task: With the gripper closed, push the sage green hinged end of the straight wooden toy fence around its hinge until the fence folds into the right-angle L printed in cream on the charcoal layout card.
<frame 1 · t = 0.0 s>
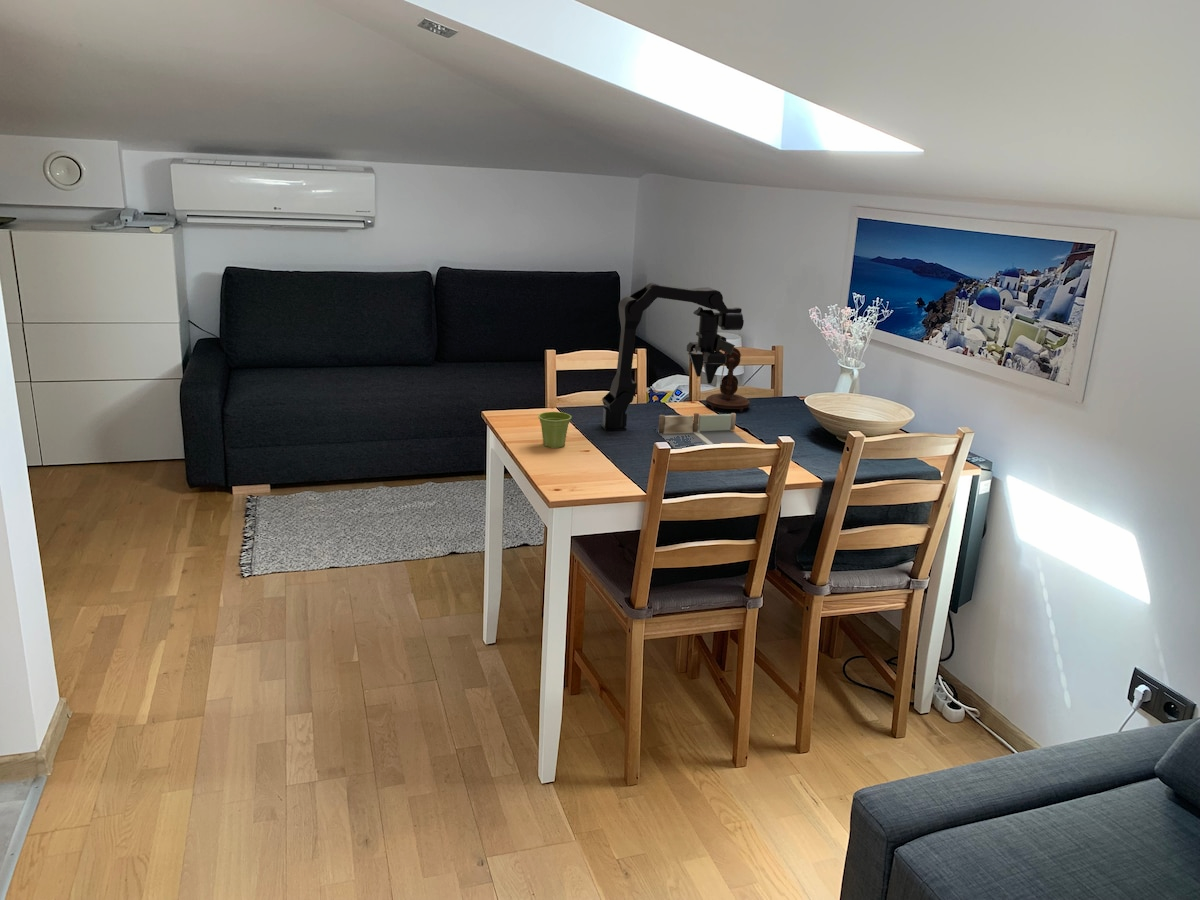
hand: (703, 380, 287), 15 cm above the table, tool pointing down, fingers open, 9 cm apart
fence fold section: (717, 421, 285), point 3 cm above the table, hinge at 0.0°
plant pot: (553, 445, 265), on the table
layout card: (700, 437, 279), on the table
brown round-based upright piece: (727, 408, 315), on the table
fence fixed section: (694, 432, 284), resting on layout card
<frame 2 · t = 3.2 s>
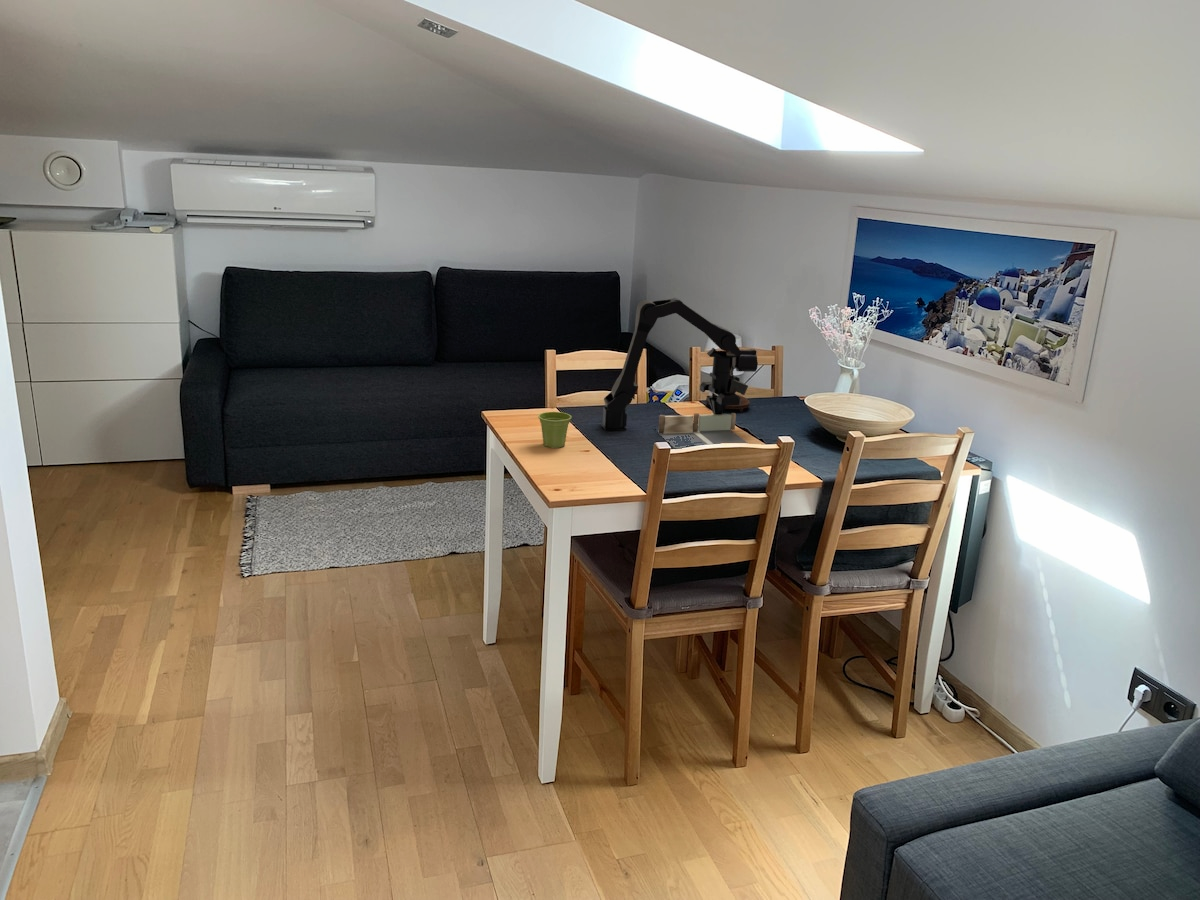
hand: (717, 420, 287), 3 cm above the table, tool pointing down, fingers closed
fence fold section: (717, 421, 285), point 3 cm above the table, hinge at 0.0°, touching gripper
everything else where it was.
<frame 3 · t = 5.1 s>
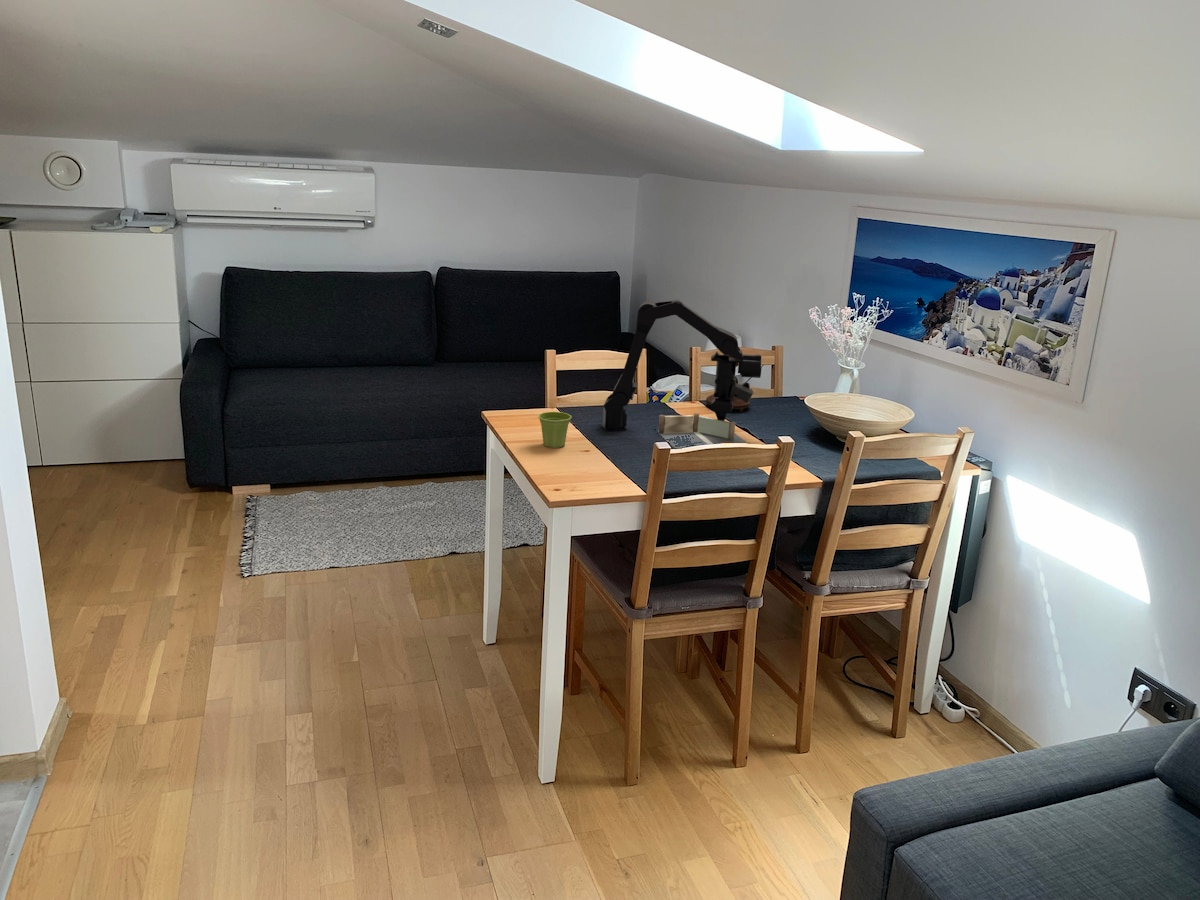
hand: (721, 425, 281), 3 cm above the table, tool pointing down, fingers closed
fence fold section: (716, 427, 279), point 3 cm above the table, hinge at -48.7°, touching gripper
everything else where it was.
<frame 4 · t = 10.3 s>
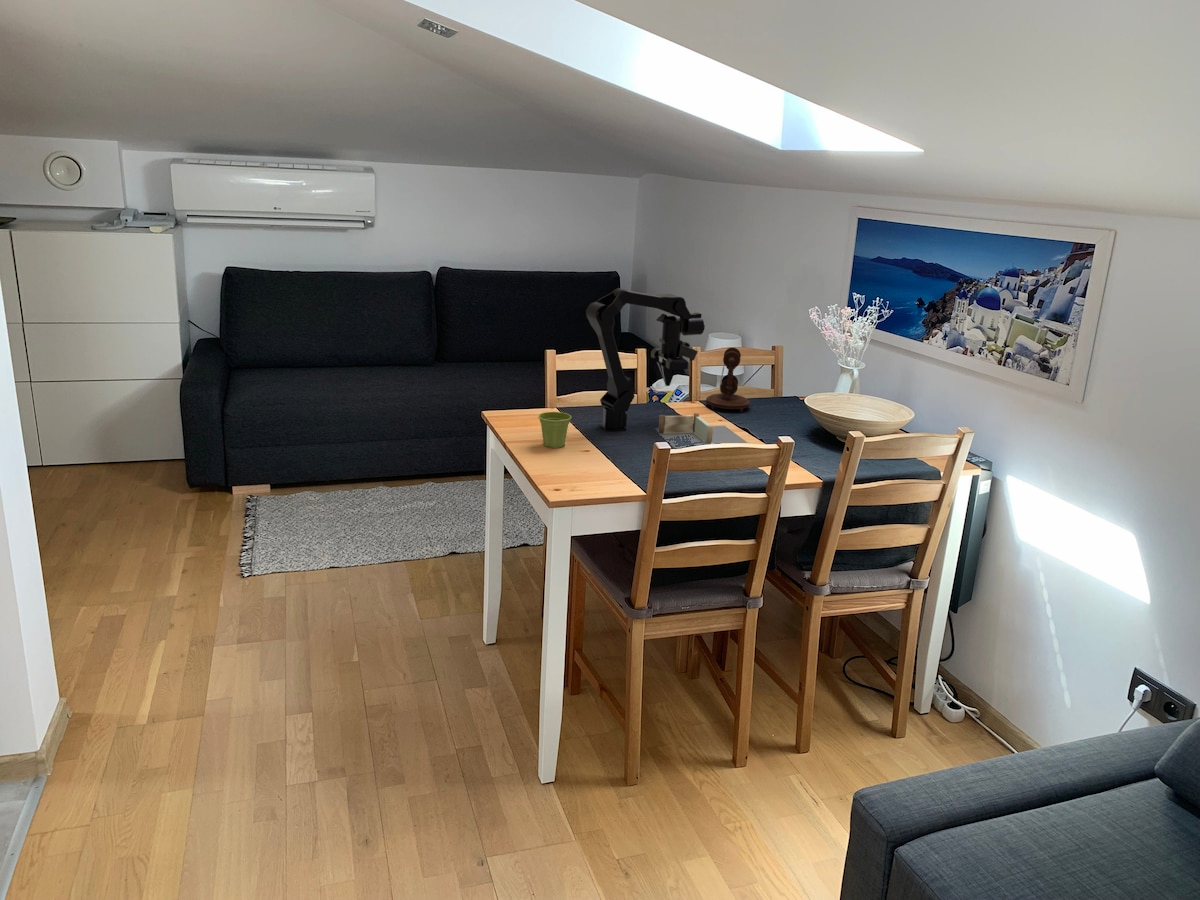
hand: (667, 385, 289), 12 cm above the table, tool pointing down, fingers closed
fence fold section: (703, 429, 276), point 3 cm above the table, hinge at -90.9°
everything else where it was.
at the end: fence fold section at -91° (first picture: +0°) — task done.
